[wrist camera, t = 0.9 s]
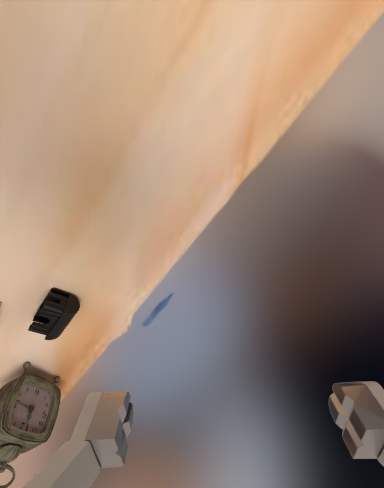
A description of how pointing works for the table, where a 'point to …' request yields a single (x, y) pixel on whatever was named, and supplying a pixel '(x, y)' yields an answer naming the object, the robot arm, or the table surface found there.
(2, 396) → the tabletop clock
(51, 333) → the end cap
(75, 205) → the table surface
